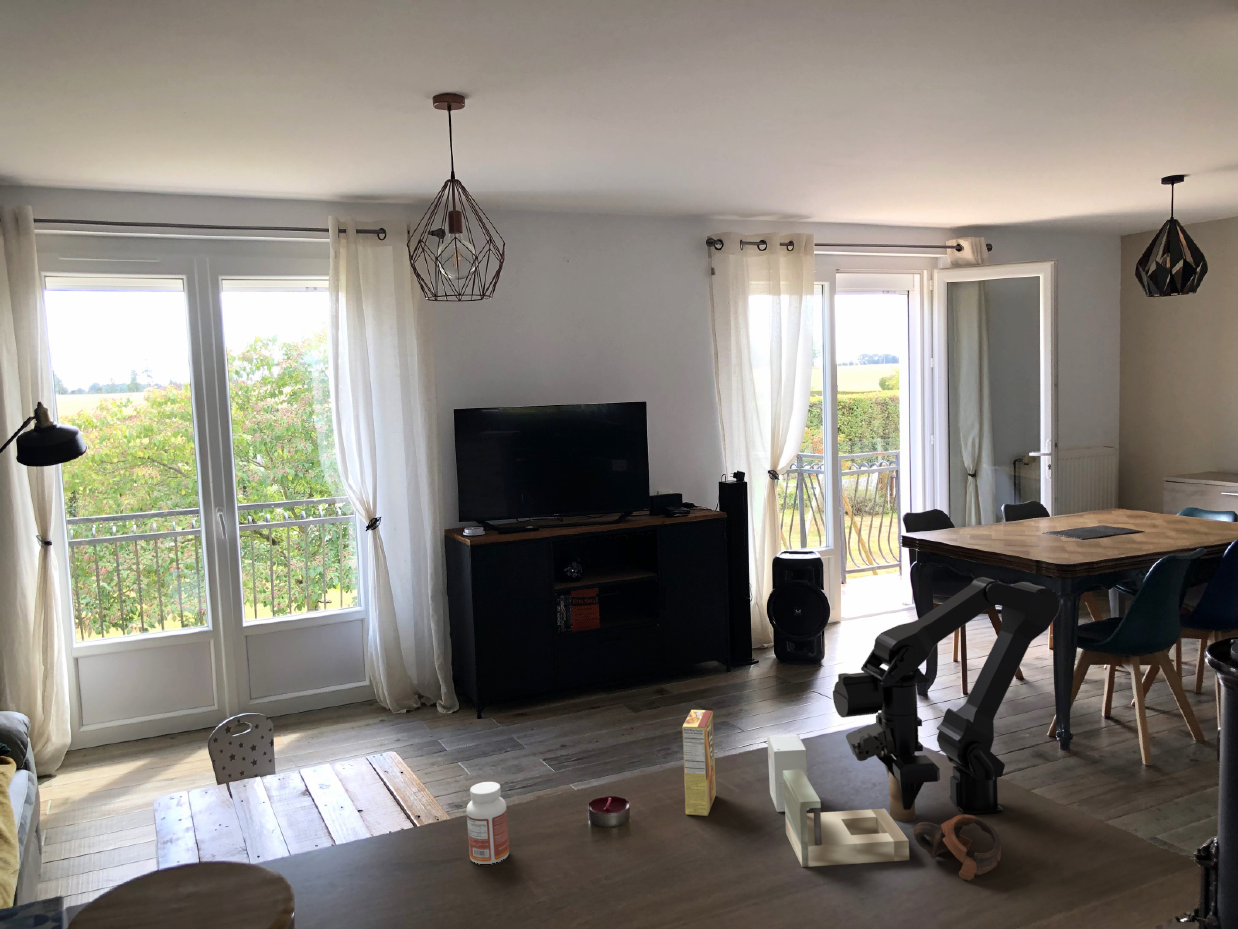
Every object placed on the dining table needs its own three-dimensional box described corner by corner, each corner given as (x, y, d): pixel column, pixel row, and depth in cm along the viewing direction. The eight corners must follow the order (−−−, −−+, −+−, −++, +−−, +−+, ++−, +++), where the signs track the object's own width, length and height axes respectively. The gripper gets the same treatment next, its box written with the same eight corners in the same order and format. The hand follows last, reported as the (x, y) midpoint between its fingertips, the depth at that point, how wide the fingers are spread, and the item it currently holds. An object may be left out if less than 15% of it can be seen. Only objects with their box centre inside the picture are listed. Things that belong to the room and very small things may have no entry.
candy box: (693, 793, 164) (689, 709, 163) (717, 795, 163) (713, 709, 162) (684, 815, 156) (680, 726, 155) (709, 817, 154) (705, 727, 154)
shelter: (884, 825, 148) (882, 764, 148) (910, 861, 136) (908, 795, 136) (785, 831, 148) (782, 770, 147) (802, 868, 136) (800, 802, 135)
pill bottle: (504, 844, 148) (500, 776, 148) (513, 861, 142) (509, 790, 142) (466, 852, 146) (461, 783, 145) (473, 870, 140) (469, 798, 140)
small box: (809, 811, 155) (807, 750, 154) (776, 813, 155) (773, 751, 154) (801, 792, 163) (798, 733, 162) (769, 793, 163) (767, 734, 162)
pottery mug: (986, 851, 139) (1004, 816, 135) (991, 907, 132) (1009, 872, 127) (905, 828, 141) (920, 793, 137) (905, 882, 134) (921, 847, 129)
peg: (910, 810, 153) (909, 768, 153) (919, 820, 149) (917, 778, 149) (886, 811, 153) (885, 770, 153) (894, 822, 149) (893, 779, 149)
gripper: (834, 695, 159) (838, 784, 160) (867, 733, 141) (871, 832, 142) (898, 691, 160) (901, 780, 161) (939, 728, 141) (942, 828, 142)
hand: (902, 803), depth 151 cm, fingers closed on peg, 4 cm apart
